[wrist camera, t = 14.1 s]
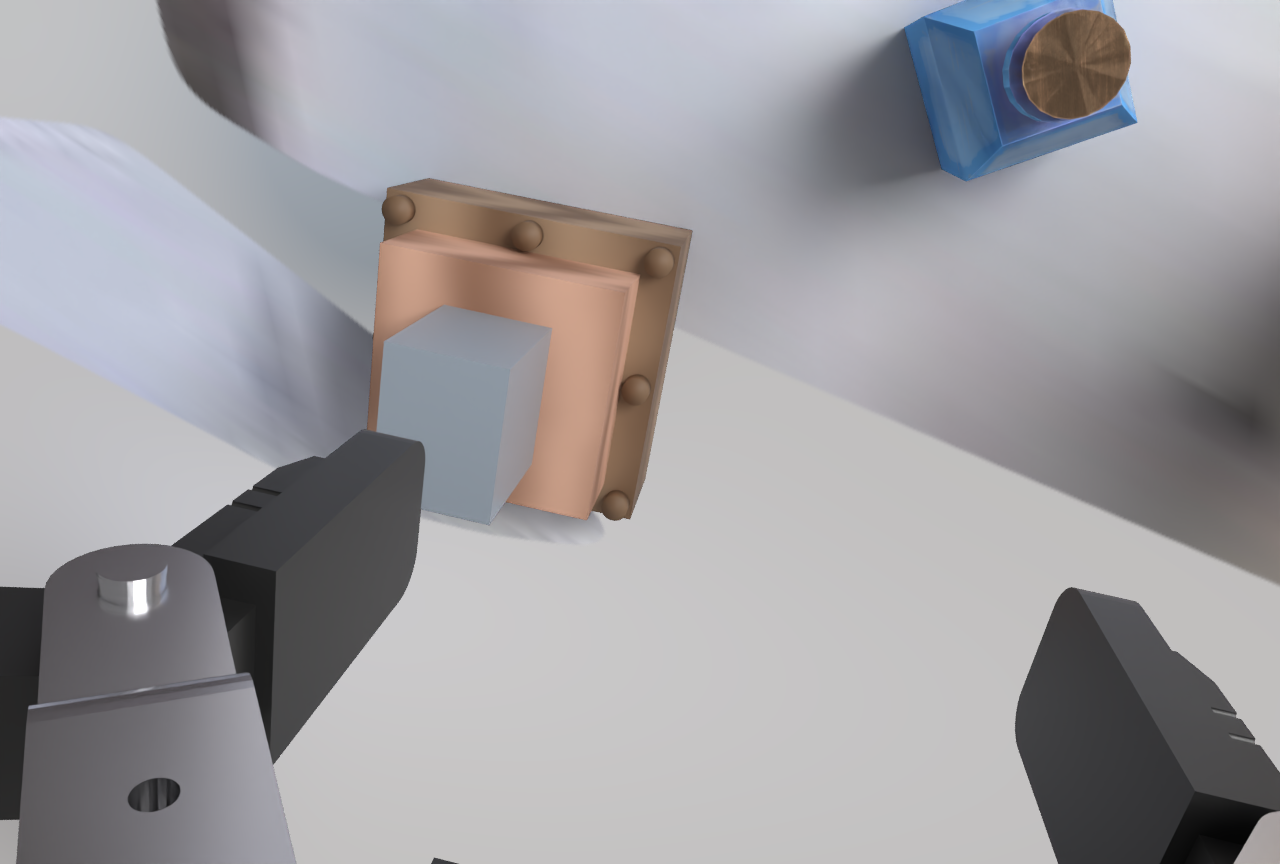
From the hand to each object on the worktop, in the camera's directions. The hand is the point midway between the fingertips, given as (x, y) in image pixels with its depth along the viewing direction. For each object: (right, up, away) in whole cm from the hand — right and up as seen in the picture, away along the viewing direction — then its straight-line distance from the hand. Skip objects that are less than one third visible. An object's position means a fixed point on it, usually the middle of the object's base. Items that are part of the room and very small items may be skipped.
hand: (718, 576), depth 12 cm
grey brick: (-7, +4, +27) cm, 28 cm away
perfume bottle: (+14, +17, +28) cm, 36 cm away
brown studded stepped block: (-6, +7, +35) cm, 36 cm away
